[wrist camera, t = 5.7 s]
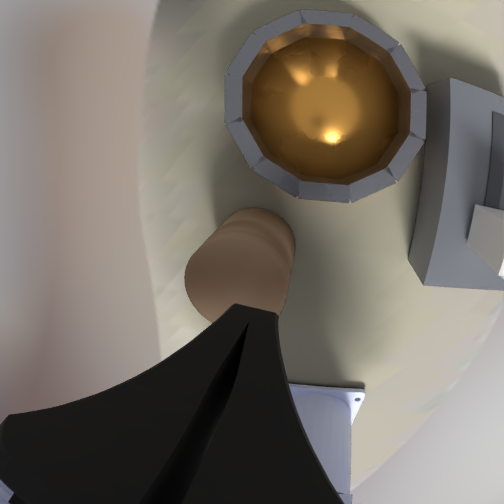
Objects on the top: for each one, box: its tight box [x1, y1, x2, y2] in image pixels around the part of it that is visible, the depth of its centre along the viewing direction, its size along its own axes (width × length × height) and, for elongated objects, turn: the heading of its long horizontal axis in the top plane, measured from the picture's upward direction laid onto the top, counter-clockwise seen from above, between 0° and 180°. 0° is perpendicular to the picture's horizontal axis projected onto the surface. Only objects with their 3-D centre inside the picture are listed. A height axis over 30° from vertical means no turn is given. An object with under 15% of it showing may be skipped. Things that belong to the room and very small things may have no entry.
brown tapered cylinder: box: [184, 208, 295, 323], centre depth 14 cm, size 4×4×5 cm
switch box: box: [408, 77, 504, 291], centre depth 11 cm, size 10×6×4 cm, turn 179°
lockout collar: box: [225, 10, 427, 203], centre depth 12 cm, size 10×10×2 cm
